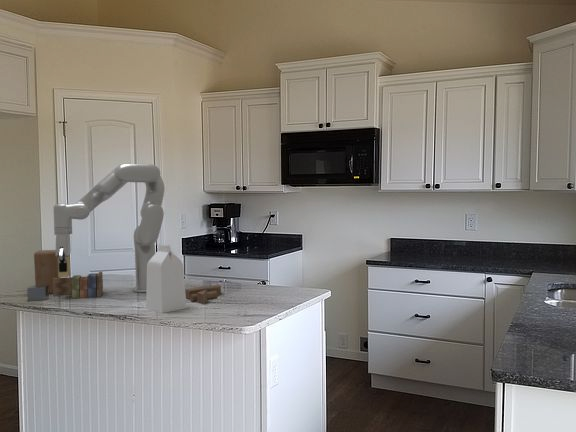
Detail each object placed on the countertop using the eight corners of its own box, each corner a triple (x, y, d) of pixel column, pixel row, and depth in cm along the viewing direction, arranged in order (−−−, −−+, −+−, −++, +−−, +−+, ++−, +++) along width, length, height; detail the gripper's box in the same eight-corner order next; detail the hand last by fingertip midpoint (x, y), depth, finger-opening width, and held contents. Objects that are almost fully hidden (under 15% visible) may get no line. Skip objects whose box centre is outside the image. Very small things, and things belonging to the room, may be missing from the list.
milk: (146, 308, 223) (143, 245, 222) (170, 303, 231) (168, 242, 230) (161, 313, 215) (159, 247, 213) (186, 307, 223) (184, 244, 221)
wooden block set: (182, 287, 241) (218, 282, 252) (182, 299, 241) (218, 294, 252) (200, 292, 228) (237, 287, 238) (201, 306, 228) (238, 299, 239)
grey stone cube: (49, 297, 250) (48, 284, 250) (45, 300, 244) (45, 287, 244) (31, 298, 249) (30, 285, 248) (27, 301, 243) (27, 288, 242)
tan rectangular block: (70, 274, 251) (69, 255, 251) (68, 276, 246) (67, 257, 245) (61, 275, 251) (60, 255, 250) (58, 277, 245) (57, 257, 244)
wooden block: (35, 295, 257) (33, 252, 255) (39, 291, 266) (37, 250, 265) (58, 293, 259) (56, 251, 258) (61, 289, 269) (59, 249, 268)
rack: (103, 292, 260) (102, 271, 259) (99, 297, 249) (99, 275, 248) (53, 295, 255) (52, 273, 255) (48, 300, 244) (47, 277, 244)
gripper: (58, 229, 255) (59, 268, 256) (50, 232, 238) (51, 274, 239) (75, 229, 256) (76, 267, 257) (68, 232, 239) (69, 273, 240)
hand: (64, 270), depth 248 cm, fingers closed on tan rectangular block, 6 cm apart
